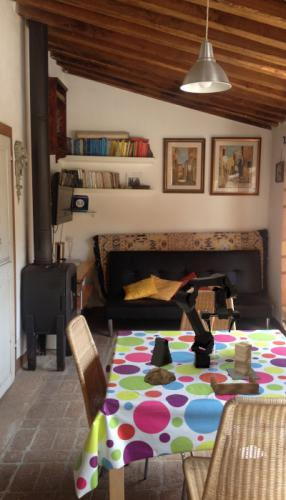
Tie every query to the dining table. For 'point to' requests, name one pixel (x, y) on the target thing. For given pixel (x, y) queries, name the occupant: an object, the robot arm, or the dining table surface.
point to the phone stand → (161, 353)
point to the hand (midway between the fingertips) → (219, 332)
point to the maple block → (243, 358)
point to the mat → (240, 377)
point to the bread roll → (159, 377)
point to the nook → (235, 387)
